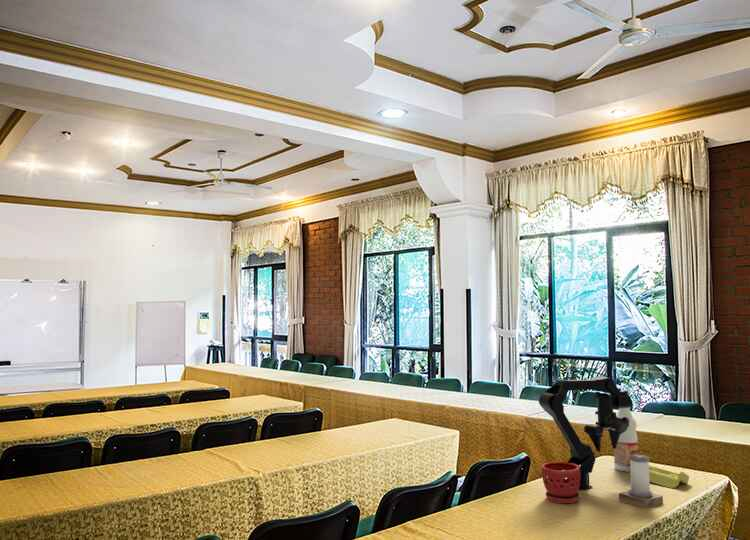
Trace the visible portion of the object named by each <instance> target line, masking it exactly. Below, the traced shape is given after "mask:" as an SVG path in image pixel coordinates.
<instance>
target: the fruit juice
mask: <svg viewBox="0 0 750 540" xmlns="http://www.w3.org/2000/svg"><path fill="white" fill-rule="evenodd" d="M616 416H617V417H618V418H621V419H622V418H623V417H627V418H628V419H629V427H627V430H626V431H625V432H624V433H622V434H621V435H620V437H619V440H618V443H617V446H616V449H614V448H613V459H614V462H613V464H614V469H615V470H617V471H619V470H620V471H621V472H624V471H625V472H626V473H627V472H628V473H631V472H630V459H629V456H630V455H639V447H638V445H639V443H638V441H639V440H638V433H637V432H636V431H637V425H638V424H637V421H636V419H635V418H634V417H633V415H632V411H631V407H629V408H619V409H618V412H617V414H616ZM620 471H619V472H620Z"/></svg>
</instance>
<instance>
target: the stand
mask: <svg viewBox="0 0 750 540" xmlns="http://www.w3.org/2000/svg"><path fill="white" fill-rule="evenodd" d="M618 496H619V502H620V501H621V502H623V503H627V504H629V503H630V505H633V506H636V507H639V508H642V507H643V508H642V509H648V508H651V506H652V507H655V506H659V505H662V504H664V503H663V502H664V499H663V497H664V496H663V495H660V494H658V493H657V494H656V493H653V492H652V497H650V498H640V497H635V496H632V495H630V494H629V490H626V491H623V492H619V493H618Z"/></svg>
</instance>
